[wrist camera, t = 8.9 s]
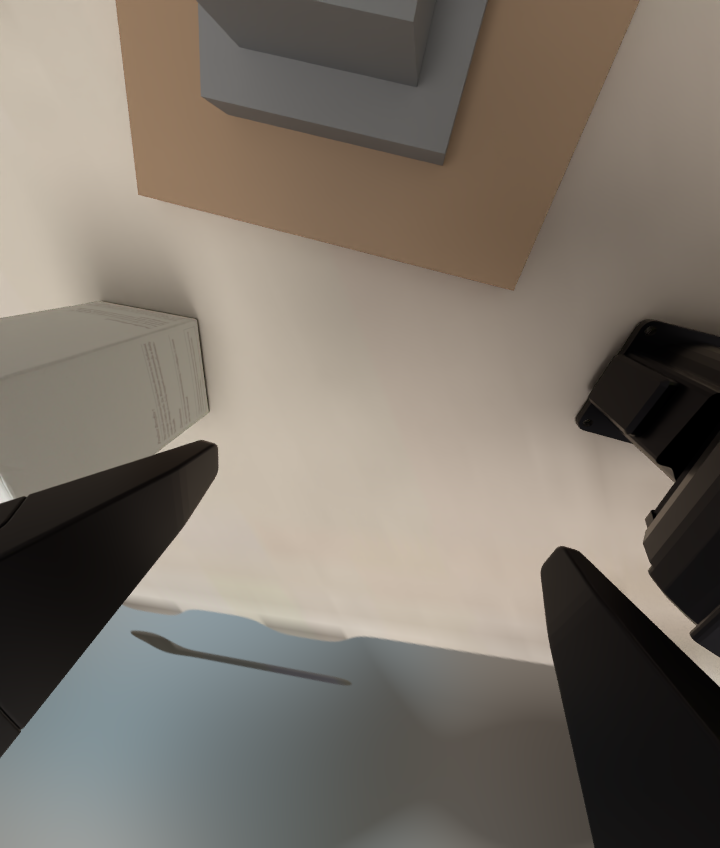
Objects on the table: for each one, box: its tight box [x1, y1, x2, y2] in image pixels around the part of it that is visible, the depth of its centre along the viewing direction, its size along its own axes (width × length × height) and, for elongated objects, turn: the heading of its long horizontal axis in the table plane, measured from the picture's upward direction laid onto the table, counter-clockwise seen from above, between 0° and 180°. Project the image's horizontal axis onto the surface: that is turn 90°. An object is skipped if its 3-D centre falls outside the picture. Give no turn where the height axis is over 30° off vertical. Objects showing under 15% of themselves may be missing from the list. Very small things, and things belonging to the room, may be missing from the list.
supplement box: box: [0, 301, 209, 503], centre depth 17 cm, size 7×7×13 cm
